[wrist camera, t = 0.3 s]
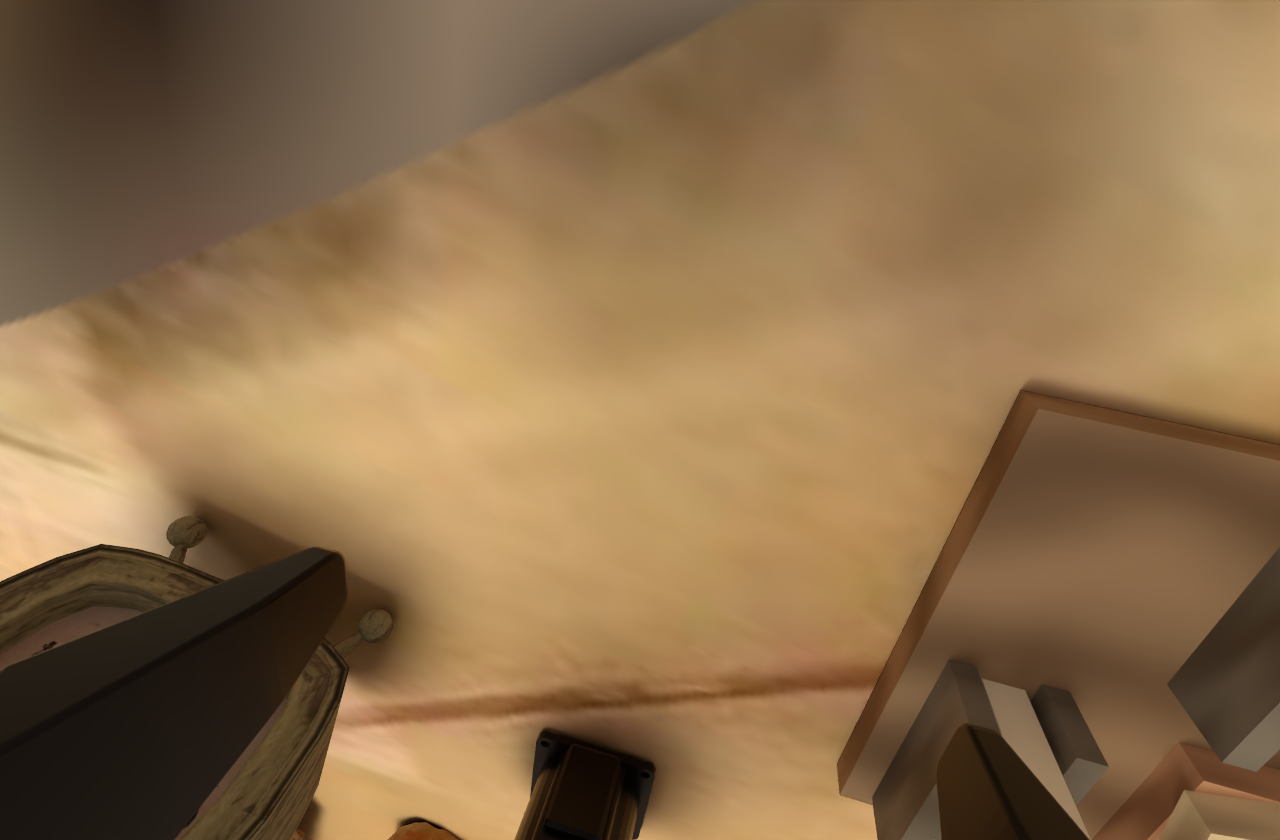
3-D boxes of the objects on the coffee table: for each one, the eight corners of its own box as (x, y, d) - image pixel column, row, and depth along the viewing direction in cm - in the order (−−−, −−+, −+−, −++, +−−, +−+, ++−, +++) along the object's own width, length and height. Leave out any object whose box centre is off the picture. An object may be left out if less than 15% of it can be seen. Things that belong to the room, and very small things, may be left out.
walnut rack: (1219, 877, 27) (1297, 1008, 23) (836, 764, 29) (845, 865, 25) (1626, 518, 17) (1876, 632, 13) (1021, 390, 19) (1082, 455, 15)
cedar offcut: (1212, 883, 25) (1237, 925, 23) (1086, 845, 25) (1102, 884, 24) (1326, 782, 22) (1362, 824, 20) (1178, 742, 22) (1203, 780, 21)
